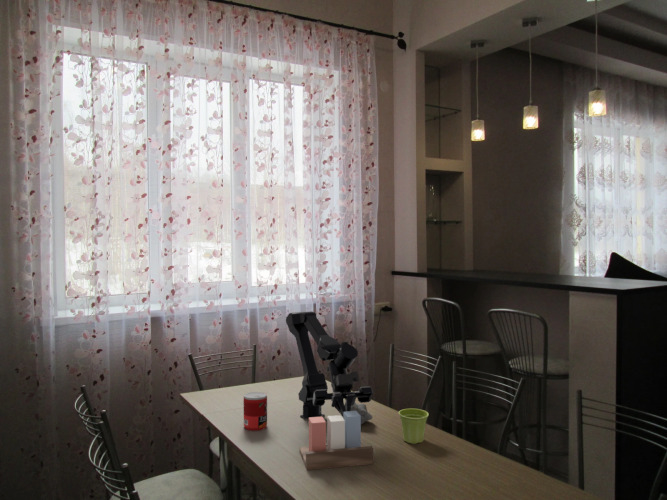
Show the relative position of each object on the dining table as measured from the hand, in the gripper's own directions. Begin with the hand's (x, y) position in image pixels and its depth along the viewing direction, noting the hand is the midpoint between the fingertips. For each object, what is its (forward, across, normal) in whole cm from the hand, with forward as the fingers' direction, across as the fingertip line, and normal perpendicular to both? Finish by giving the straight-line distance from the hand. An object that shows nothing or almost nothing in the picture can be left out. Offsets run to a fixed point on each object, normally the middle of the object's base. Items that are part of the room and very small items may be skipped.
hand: (347, 420), depth 164 cm
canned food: (-11, -26, +22) cm, 36 cm away
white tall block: (+10, -6, -2) cm, 12 cm away
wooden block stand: (+11, -6, 0) cm, 12 cm away
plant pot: (+6, +21, +6) cm, 23 cm away
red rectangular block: (+10, -11, -2) cm, 15 cm away
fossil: (-8, +9, +20) cm, 23 cm away
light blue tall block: (+8, 0, 0) cm, 8 cm away
